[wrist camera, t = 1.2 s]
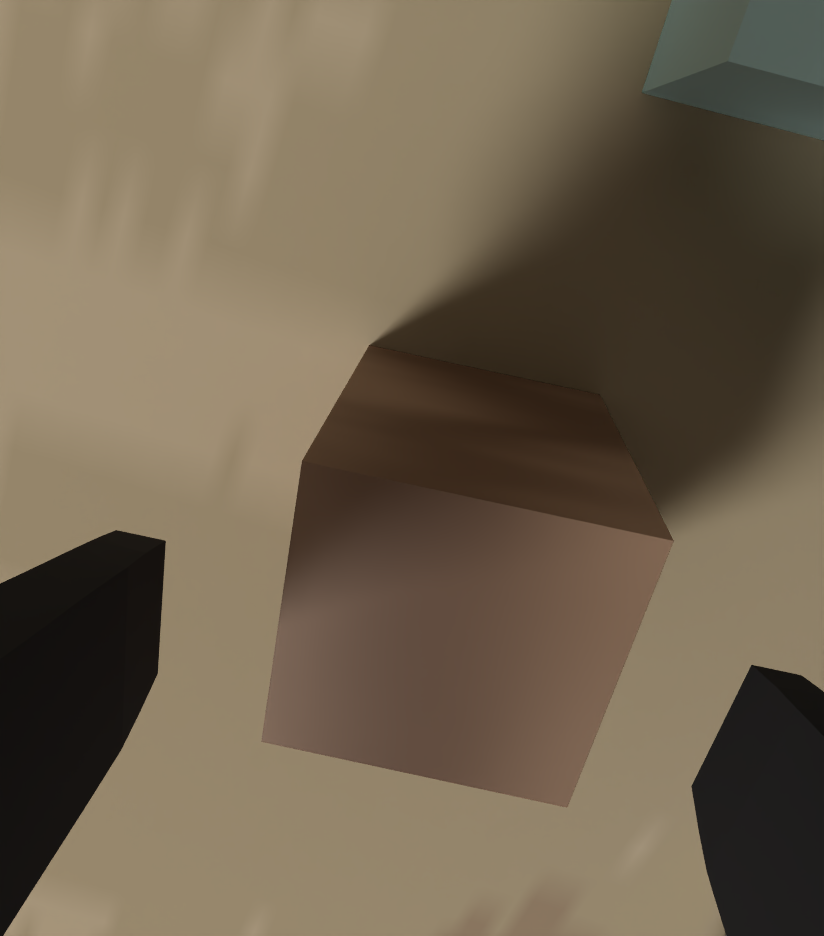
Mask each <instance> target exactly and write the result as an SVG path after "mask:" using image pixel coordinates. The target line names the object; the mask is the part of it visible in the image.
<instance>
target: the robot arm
mask: <svg viewBox="0 0 824 936" xmlns="http://www.w3.org/2000/svg"><path fill="white" fill-rule="evenodd" d="M165 543H166V541H164V540H160V539H155V538H150V537H146V536H141V535H136V534H131V533H127V532H122V531H117V530H116V531H113V532H111V533H108V534H106V535H103V536H101V537H99V538H96V539H94V540H92V541H90V542H87V543H85V544H83V545H81V546H79V547H77V548H75V549H72V550H70V551H68V552H66V553H64V554H62V555H60V556H58V557H56V558H53V559H51V560H49V561H47V562H45V563H43V564H41V565H39V566H37V567H35V568H33V569H30V570H28V571H26V572H24V573H22V574H20V575H18V576H16V577H13V578H11V579H9V580H7V581H5V582H3V583H1V584H0V936H3V935H4V933H5V932H6V930H7V929H8V927H9V926H10V924H11V923H12V921H13V919H14V918H15V916H16V915H17V913H18V912H19V910H20V908H21V907H22V905H23V904H24V902H25V901H26V899H27V897H28V896H29V894H30V893H31V891H32V890H33V888H34V887H35V885H36V883H37V882H38V880H39V879H40V877H41V876H42V874H43V872H44V871H45V869H46V868H47V866H48V865H49V863H50V861H51V860H52V858H53V857H54V855H55V854H56V852H57V851H58V849H59V847H60V846H61V844H62V843H63V841H64V840H65V838H66V836H67V835H68V833H69V832H70V830H71V829H72V827H73V825H74V824H75V822H76V821H77V819H78V818H79V816H80V815H81V813H82V811H83V810H84V808H85V807H86V805H87V803H88V802H89V800H90V799H91V797H92V796H93V794H94V792H95V791H96V789H97V788H98V786H99V784H100V783H101V781H102V780H103V778H104V777H105V775H106V773H107V772H108V770H109V769H110V767H111V765H112V764H113V762H114V760H115V759H116V757H117V756H118V754H119V752H120V751H121V749H122V747H123V745H124V743H125V741H126V739H127V737H128V735H129V733H130V731H131V729H132V727H133V725H134V723H135V721H136V719H137V717H138V715H139V713H140V711H141V708H142V706H143V704H144V702H145V700H146V698H147V695H148V693H149V691H150V689H151V687H152V685H153V683H154V680H155V678H156V676H157V674H158V660H159V643H160V626H161V610H162V593H163V576H164V560H165ZM692 792H693V798H694V804H695V810H696V816H697V822H698V829H699V834H700V839H701V844H702V849H703V854H704V859H705V864H706V869H707V873H708V877H709V880H710V884H711V887H712V890H713V894H714V897H715V900H716V904H717V907H718V910H719V913H720V916H721V920H722V923H723V926H724V929H725V933H726V936H824V692H823V691H822V690H821V689H819V688H818V687H817V686H815V685H814V684H812V683H811V682H810V681H808V680H807V679H806V678H804V677H803V676H801V675H797V674H792V673H787V672H783V671H778V670H773V669H769V668H764V667H759V666H754V665H751V667H750V669H749V671H748V673H747V675H746V677H745V679H744V681H743V683H742V685H741V687H740V689H739V691H738V694H737V696H736V698H735V700H734V702H733V704H732V706H731V708H730V710H729V712H728V714H727V716H726V718H725V720H724V722H723V724H722V726H721V728H720V730H719V732H718V734H717V736H716V738H715V740H714V742H713V744H712V746H711V748H710V750H709V752H708V754H707V756H706V758H705V760H704V762H703V764H702V766H701V768H700V770H699V772H698V774H697V776H696V778H695V780H694V782H693V784H692Z"/></svg>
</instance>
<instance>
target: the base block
mask: <svg viewBox="0 0 824 936" xmlns="http://www.w3.org/2000/svg"><path fill="white" fill-rule="evenodd" d="M642 93H644V94H648V95H652V96H656V97H660V98H663V99H667V100H671V101H675V102H679V103H682V104H686V105H690V106H694V107H698V108H702V109H705V110H709V111H713V112H717V113H721V114H724V115H728V116H732V117H736V118H740V119H743V120H747V121H751V122H755V123H759V124H763V125H766V126H770V127H774V128H778V129H782V130H785V131H789V132H793V133H797V134H801V135H805V136H808V137H812V138H816V139H820V140H824V0H672V2H671V5H670V8H669V11H668V14H667V17H666V20H665V23H664V26H663V29H662V32H661V35H660V38H659V41H658V44H657V48H656V51H655V54H654V57H653V60H652V63H651V66H650V69H649V72H648V75H647V78H646V81H645V84H644V87H643V90H642Z"/></svg>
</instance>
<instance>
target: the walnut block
mask: <svg viewBox="0 0 824 936" xmlns="http://www.w3.org/2000/svg"><path fill="white" fill-rule="evenodd" d="M673 542H674V540H673V539H672V537H671V535H670V533H669V531H668V529H667V527H666V525H665V523H664V521H663V519H662V517H661V515H660V513H659V511H658V509H657V507H656V505H655V503H654V501H653V499H652V497H651V495H650V493H649V491H648V489H647V487H646V485H645V483H644V481H643V479H642V477H641V475H640V473H639V471H638V469H637V467H636V465H635V463H634V461H633V459H632V457H631V455H630V453H629V451H628V449H627V448H626V446H625V444H624V442H623V440H622V438H621V436H620V434H619V432H618V430H617V428H616V426H615V424H614V422H613V420H612V418H611V416H610V414H609V412H608V410H607V408H606V406H605V404H604V402H603V400H602V398H601V396H600V395H598V394H594V393H589V392H584V391H580V390H575V389H570V388H566V387H561V386H556V385H552V384H547V383H542V382H538V381H533V380H529V379H524V378H519V377H515V376H510V375H505V374H501V373H496V372H491V371H487V370H482V369H477V368H473V367H468V366H463V365H459V364H454V363H449V362H445V361H440V360H435V359H431V358H426V357H422V356H417V355H412V354H408V353H403V352H398V351H394V350H389V349H384V348H380V347H375V346H370V345H369V347H368V348H367V350H366V352H365V354H364V355H363V357H362V359H361V361H360V362H359V364H358V366H357V367H356V369H355V371H354V373H353V374H352V376H351V378H350V379H349V381H348V383H347V385H346V386H345V388H344V390H343V391H342V393H341V395H340V397H339V398H338V400H337V402H336V404H335V405H334V407H333V409H332V410H331V412H330V414H329V416H328V417H327V419H326V421H325V422H324V424H323V426H322V428H321V429H320V431H319V433H318V434H317V436H316V438H315V440H314V441H313V443H312V445H311V447H310V448H309V450H308V452H307V453H306V455H305V457H304V459H303V460H302V465H301V472H300V479H299V486H298V492H297V499H296V506H295V513H294V520H293V527H292V534H291V541H290V548H289V555H288V562H287V569H286V575H285V582H284V589H283V596H282V603H281V610H280V617H279V624H278V631H277V638H276V645H275V651H274V658H273V665H272V672H271V679H270V686H269V693H268V700H267V707H266V714H265V721H264V728H263V734H262V741H261V742H265V743H270V744H275V745H279V746H284V747H289V748H293V749H298V750H302V751H307V752H312V753H316V754H321V755H326V756H330V757H335V758H340V759H344V760H349V761H354V762H358V763H363V764H368V765H372V766H377V767H381V768H386V769H391V770H395V771H400V772H405V773H409V774H414V775H419V776H423V777H428V778H433V779H437V780H442V781H446V782H451V783H456V784H460V785H465V786H470V787H474V788H479V789H484V790H488V791H493V792H498V793H502V794H507V795H512V796H516V797H521V798H525V799H530V800H535V801H539V802H544V803H549V804H553V805H558V806H563V807H568V804H569V802H570V799H571V797H572V794H573V792H574V789H575V787H576V784H577V782H578V779H579V777H580V774H581V772H582V769H583V767H584V764H585V762H586V759H587V757H588V754H589V752H590V749H591V747H592V744H593V742H594V739H595V737H596V734H597V732H598V729H599V727H600V724H601V722H602V719H603V717H604V714H605V712H606V709H607V707H608V704H609V702H610V699H611V697H612V694H613V692H614V689H615V687H616V684H617V682H618V679H619V677H620V674H621V672H622V669H623V667H624V664H625V662H626V659H627V657H628V654H629V652H630V649H631V647H632V644H633V642H634V639H635V637H636V634H637V632H638V629H639V627H640V624H641V622H642V619H643V617H644V614H645V612H646V609H647V607H648V604H649V602H650V599H651V597H652V594H653V592H654V589H655V587H656V584H657V582H658V579H659V577H660V574H661V572H662V569H663V567H664V564H665V562H666V559H667V557H668V554H669V552H670V549H671V547H672V544H673Z"/></svg>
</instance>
